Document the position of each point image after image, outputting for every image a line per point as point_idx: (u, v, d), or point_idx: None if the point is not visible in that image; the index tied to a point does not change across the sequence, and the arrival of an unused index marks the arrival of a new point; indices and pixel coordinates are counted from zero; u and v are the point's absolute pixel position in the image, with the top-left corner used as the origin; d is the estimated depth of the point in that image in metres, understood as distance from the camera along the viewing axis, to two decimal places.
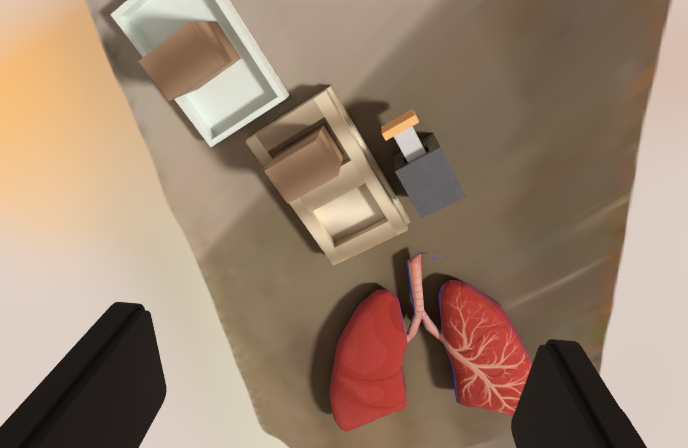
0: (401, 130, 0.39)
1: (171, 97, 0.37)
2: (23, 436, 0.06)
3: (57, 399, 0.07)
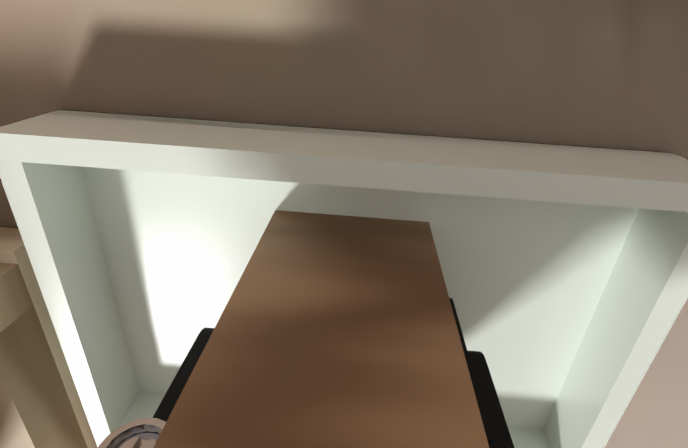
0: None
1: None
2: None
3: None
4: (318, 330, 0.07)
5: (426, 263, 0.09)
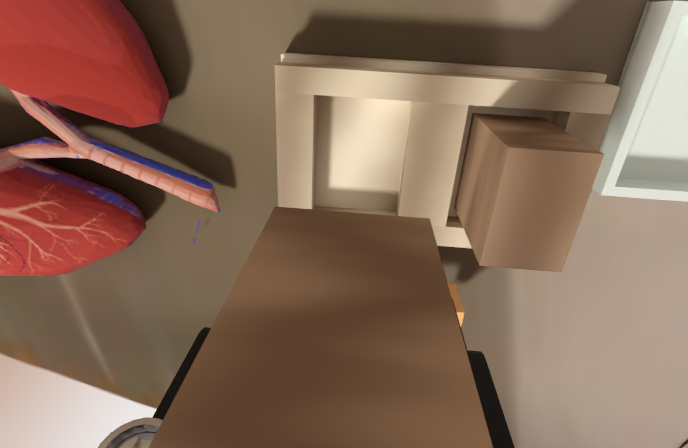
0: None
1: None
2: None
3: None
4: (319, 325, 0.07)
5: (427, 259, 0.09)
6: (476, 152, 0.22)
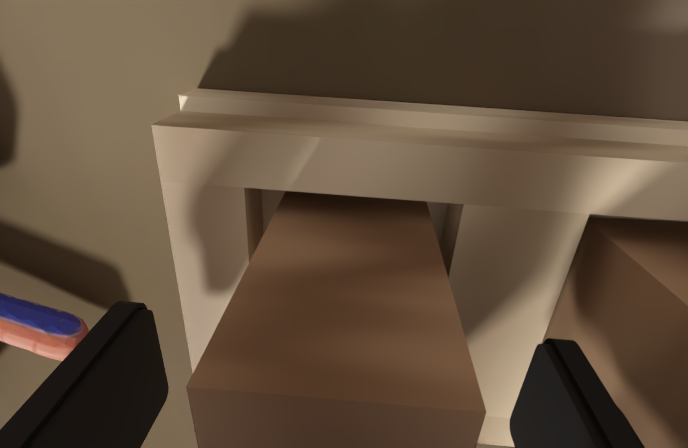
0: None
1: (200, 409, 0.06)
2: (27, 434, 0.06)
3: (61, 398, 0.07)
4: (329, 280, 0.08)
5: (422, 230, 0.10)
6: (616, 323, 0.10)
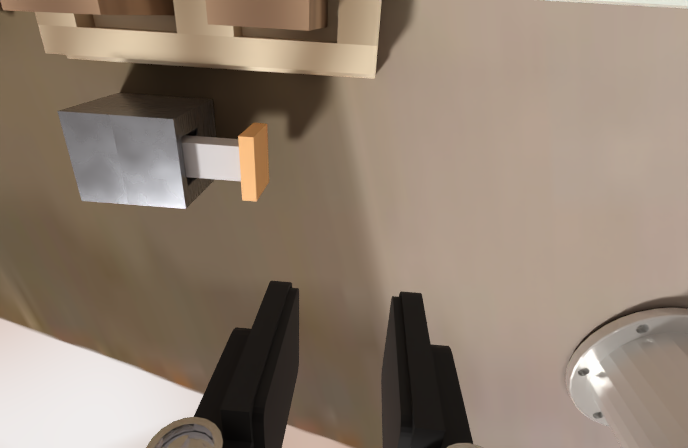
0: (242, 169, 0.21)
1: None
2: (253, 387, 0.07)
3: (263, 359, 0.08)
4: None
5: None
6: None
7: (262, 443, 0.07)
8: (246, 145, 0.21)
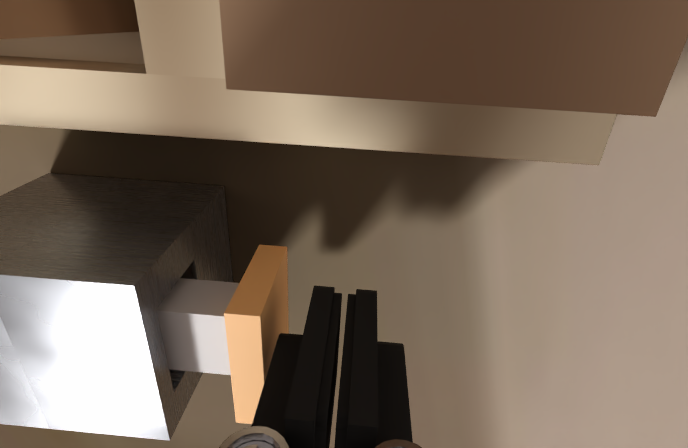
0: (236, 372, 0.10)
1: None
2: (314, 395, 0.07)
3: (318, 366, 0.08)
4: None
5: None
6: None
7: None
8: (244, 331, 0.09)
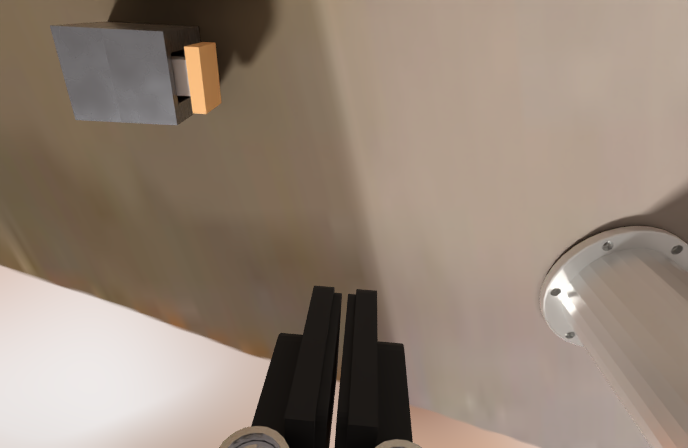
0: (190, 81, 0.23)
1: None
2: (314, 395, 0.07)
3: (318, 366, 0.08)
4: None
5: None
6: None
7: None
8: (192, 55, 0.22)
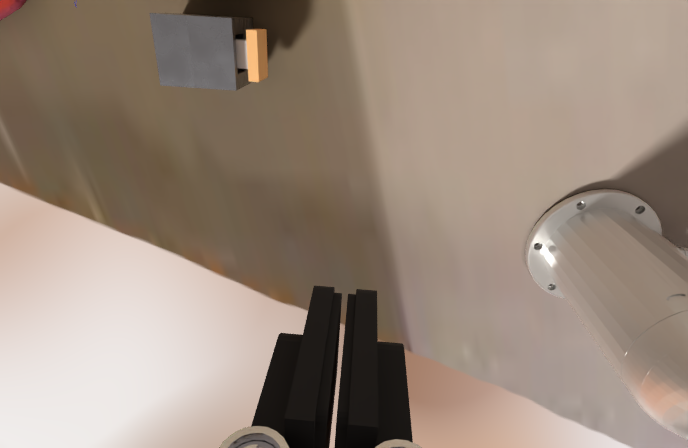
0: (249, 56, 0.30)
1: None
2: (314, 395, 0.07)
3: (318, 366, 0.08)
4: None
5: None
6: None
7: None
8: (251, 36, 0.30)
